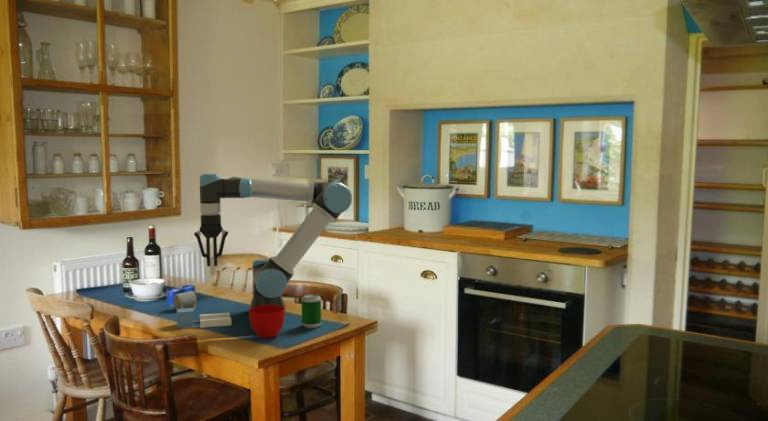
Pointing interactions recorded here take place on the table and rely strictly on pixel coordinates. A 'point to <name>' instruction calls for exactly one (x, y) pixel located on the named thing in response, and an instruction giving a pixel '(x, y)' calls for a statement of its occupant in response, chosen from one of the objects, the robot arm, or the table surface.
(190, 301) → the ceramic mug
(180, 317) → the block
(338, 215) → the robot arm
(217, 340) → the table surface
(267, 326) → the ceramic cup
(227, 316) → the chute
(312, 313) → the soda can
